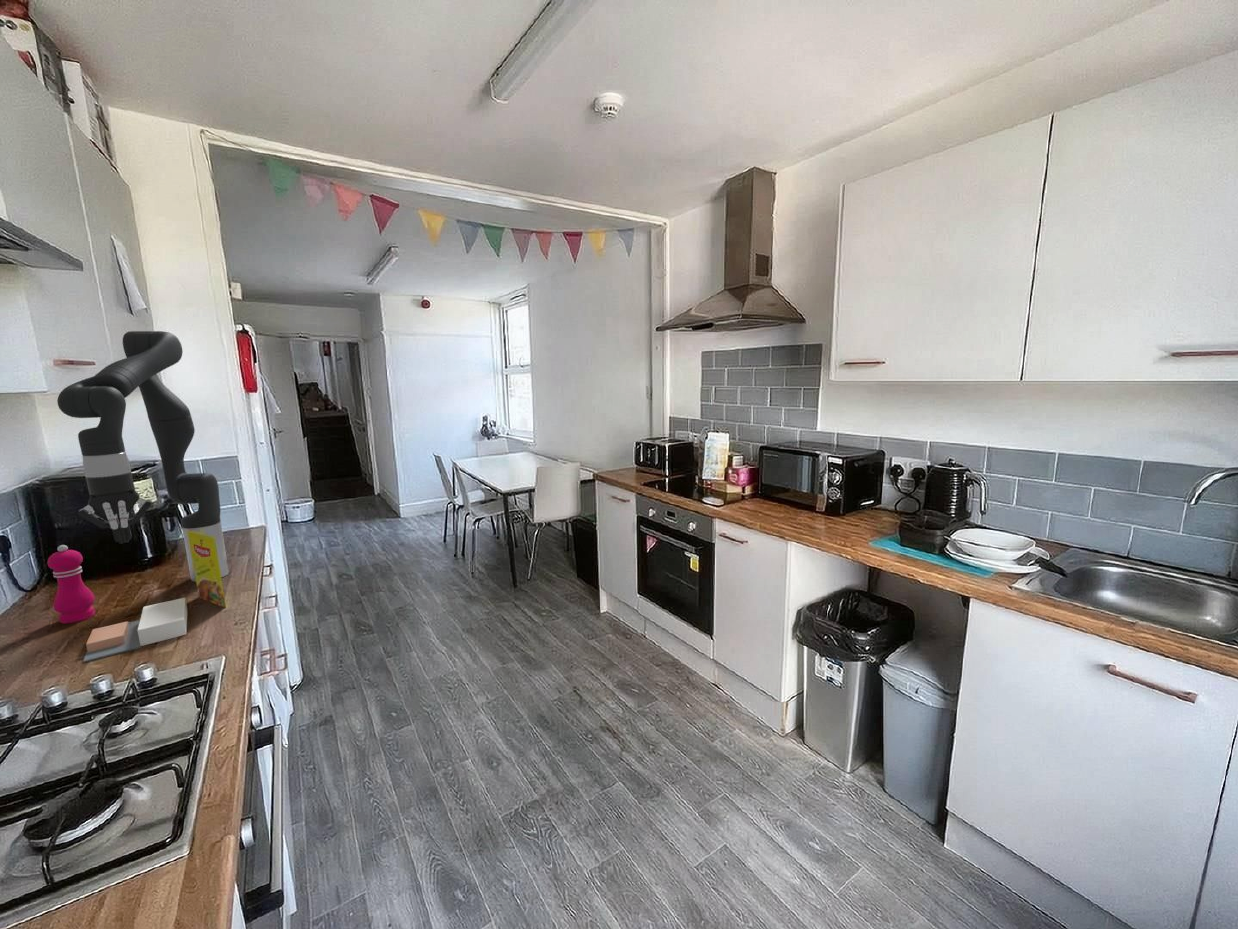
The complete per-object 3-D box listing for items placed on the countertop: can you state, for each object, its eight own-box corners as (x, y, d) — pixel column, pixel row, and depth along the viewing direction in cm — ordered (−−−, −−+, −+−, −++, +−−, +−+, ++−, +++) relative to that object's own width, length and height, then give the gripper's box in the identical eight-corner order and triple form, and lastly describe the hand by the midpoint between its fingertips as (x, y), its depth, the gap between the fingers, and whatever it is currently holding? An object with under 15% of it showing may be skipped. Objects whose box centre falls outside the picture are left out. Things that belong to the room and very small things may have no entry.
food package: (196, 597, 139) (184, 530, 135) (201, 596, 140) (189, 529, 136) (223, 608, 132) (212, 538, 128) (228, 606, 133) (217, 536, 129)
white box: (146, 621, 125) (143, 606, 125) (187, 611, 130) (185, 597, 130) (140, 646, 113) (137, 630, 113) (186, 634, 118) (183, 619, 118)
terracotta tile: (127, 621, 120) (129, 628, 121) (92, 629, 117) (94, 637, 117) (123, 635, 114) (125, 643, 114) (86, 644, 110) (87, 652, 110)
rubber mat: (96, 631, 120) (96, 630, 120) (146, 619, 126) (146, 618, 126) (83, 662, 107) (83, 661, 107) (140, 648, 112) (139, 646, 112)
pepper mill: (104, 613, 130) (89, 541, 127) (68, 626, 123) (51, 551, 120) (86, 610, 132) (71, 539, 129) (50, 622, 125) (33, 548, 122)
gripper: (148, 466, 121) (162, 532, 125) (70, 473, 113) (87, 544, 116) (145, 471, 115) (160, 540, 119) (63, 479, 107) (81, 553, 111)
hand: (124, 542), depth 118 cm, fingers closed
